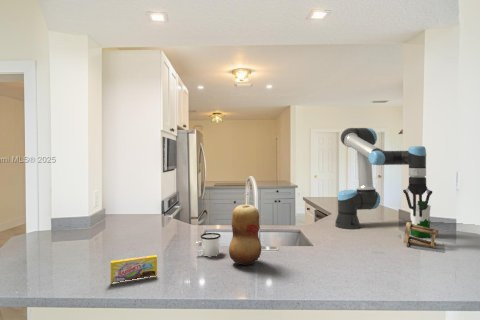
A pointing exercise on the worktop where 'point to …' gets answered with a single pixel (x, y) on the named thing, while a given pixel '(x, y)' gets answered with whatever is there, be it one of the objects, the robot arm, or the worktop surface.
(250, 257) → the butternut squash
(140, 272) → the candy box
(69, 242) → the worktop surface
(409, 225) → the stool
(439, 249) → the mat
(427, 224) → the milk carton
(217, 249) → the mug
